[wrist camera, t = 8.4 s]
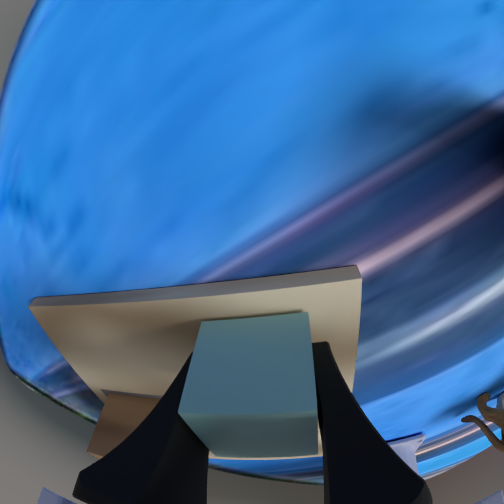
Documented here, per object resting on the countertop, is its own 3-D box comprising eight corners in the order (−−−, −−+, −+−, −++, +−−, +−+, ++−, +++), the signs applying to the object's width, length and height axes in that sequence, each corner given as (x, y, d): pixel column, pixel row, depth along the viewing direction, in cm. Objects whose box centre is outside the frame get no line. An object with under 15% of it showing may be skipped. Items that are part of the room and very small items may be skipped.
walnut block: (205, 434, 17) (195, 491, 14) (143, 428, 18) (129, 478, 14) (177, 399, 15) (160, 469, 11) (108, 393, 16) (86, 451, 12)
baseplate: (340, 445, 19) (341, 453, 19) (158, 445, 22) (157, 452, 21) (356, 265, 10) (361, 278, 10) (35, 297, 13) (27, 306, 12)
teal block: (313, 374, 12) (318, 454, 9) (227, 380, 13) (215, 456, 10) (308, 311, 10) (317, 409, 7) (201, 321, 11) (177, 412, 8)
